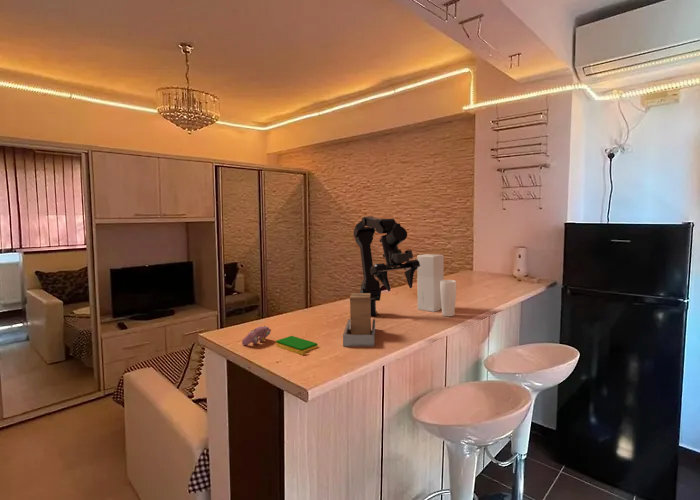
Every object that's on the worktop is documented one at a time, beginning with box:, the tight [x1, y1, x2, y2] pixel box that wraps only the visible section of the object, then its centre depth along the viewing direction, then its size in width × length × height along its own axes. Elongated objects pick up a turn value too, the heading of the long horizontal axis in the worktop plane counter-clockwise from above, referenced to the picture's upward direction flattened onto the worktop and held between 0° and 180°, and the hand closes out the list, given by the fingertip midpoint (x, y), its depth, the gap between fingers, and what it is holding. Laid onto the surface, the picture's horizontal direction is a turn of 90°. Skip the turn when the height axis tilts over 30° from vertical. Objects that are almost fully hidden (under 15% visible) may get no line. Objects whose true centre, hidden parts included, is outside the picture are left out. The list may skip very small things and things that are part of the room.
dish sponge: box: [275, 335, 319, 356], centre depth 131 cm, size 7×14×2 cm, turn 47°
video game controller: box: [241, 325, 272, 346], centre depth 137 cm, size 10×5×7 cm, turn 148°
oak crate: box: [349, 292, 372, 335], centre depth 142 cm, size 7×7×14 cm
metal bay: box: [342, 318, 376, 348], centre depth 138 cm, size 20×10×5 cm, turn 175°
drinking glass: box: [440, 279, 457, 318], centre depth 167 cm, size 7×7×15 cm
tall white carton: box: [416, 253, 445, 313], centre depth 179 cm, size 9×9×25 cm
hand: (400, 289), depth 144 cm, fingers open, 9 cm apart
